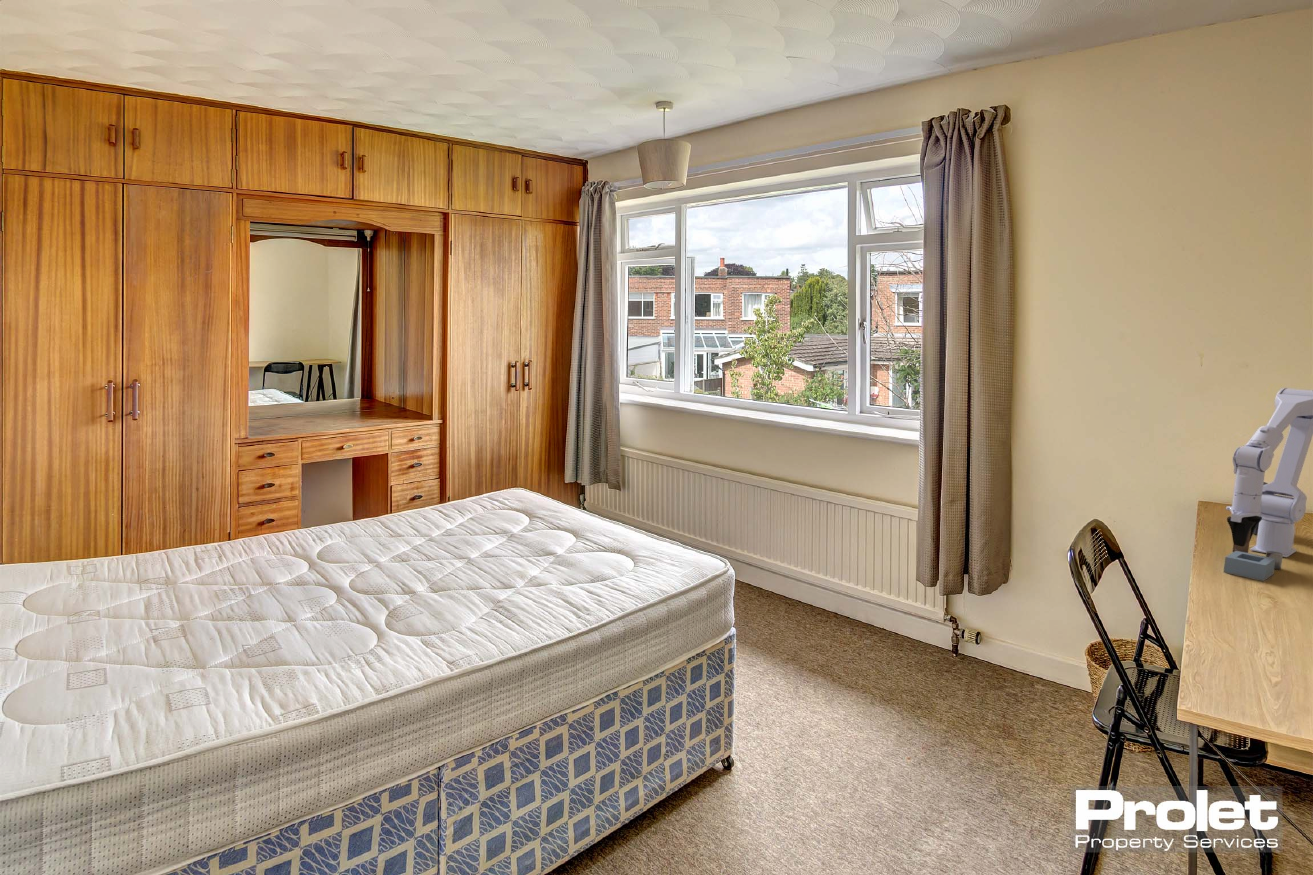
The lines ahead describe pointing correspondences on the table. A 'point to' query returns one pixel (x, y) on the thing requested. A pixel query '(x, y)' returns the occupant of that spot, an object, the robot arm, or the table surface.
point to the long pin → (1245, 547)
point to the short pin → (1277, 557)
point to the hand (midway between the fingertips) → (1241, 544)
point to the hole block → (1249, 565)
